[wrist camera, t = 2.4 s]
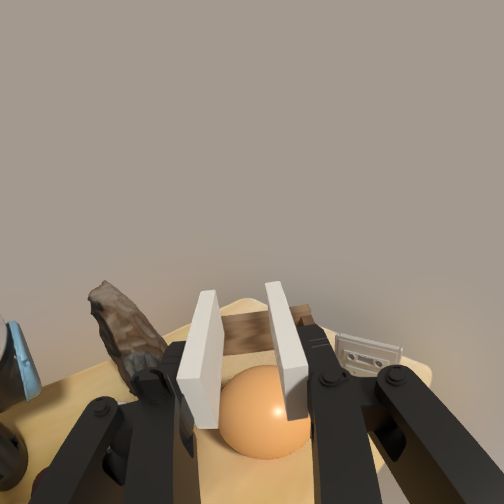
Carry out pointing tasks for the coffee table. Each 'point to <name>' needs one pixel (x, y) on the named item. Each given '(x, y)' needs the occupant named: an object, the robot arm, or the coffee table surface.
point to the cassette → (365, 355)
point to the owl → (125, 332)
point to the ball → (259, 416)
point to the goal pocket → (256, 330)
